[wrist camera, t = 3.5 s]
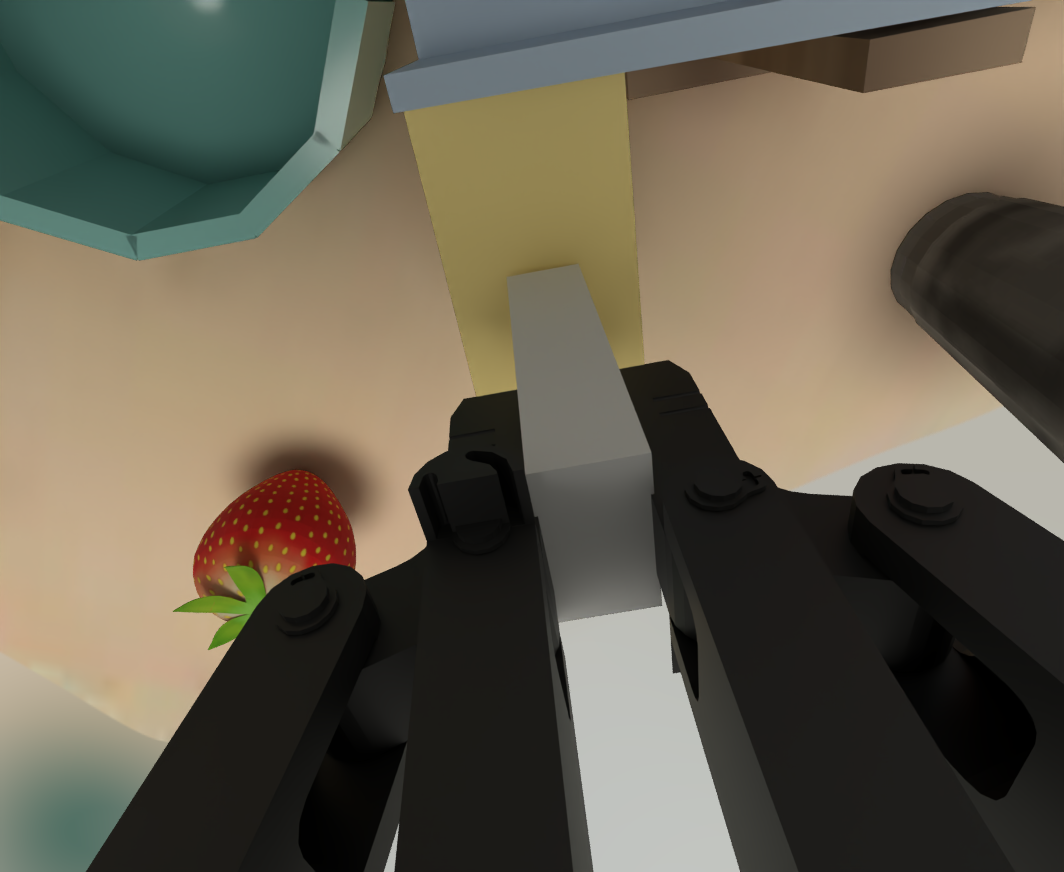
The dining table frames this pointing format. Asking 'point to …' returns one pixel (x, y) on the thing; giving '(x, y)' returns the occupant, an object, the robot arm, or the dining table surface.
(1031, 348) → the beverage cup
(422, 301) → the dining table surface
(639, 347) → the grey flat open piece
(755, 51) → the stand
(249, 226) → the bowl
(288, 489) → the fruit
